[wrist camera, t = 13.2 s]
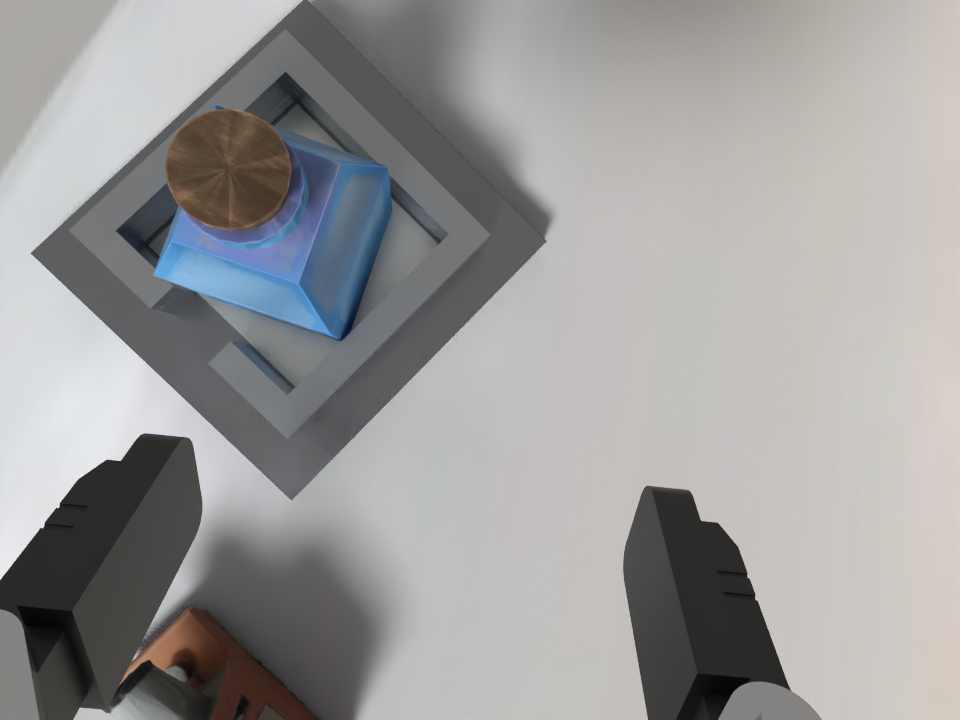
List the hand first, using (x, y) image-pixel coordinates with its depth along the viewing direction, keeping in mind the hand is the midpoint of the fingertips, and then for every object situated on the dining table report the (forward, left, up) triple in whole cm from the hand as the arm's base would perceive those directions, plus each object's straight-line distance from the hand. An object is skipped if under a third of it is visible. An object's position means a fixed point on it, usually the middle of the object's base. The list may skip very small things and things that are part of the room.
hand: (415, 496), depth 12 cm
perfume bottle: (-2, -9, -18) cm, 20 cm away
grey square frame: (-2, -9, -19) cm, 21 cm away
